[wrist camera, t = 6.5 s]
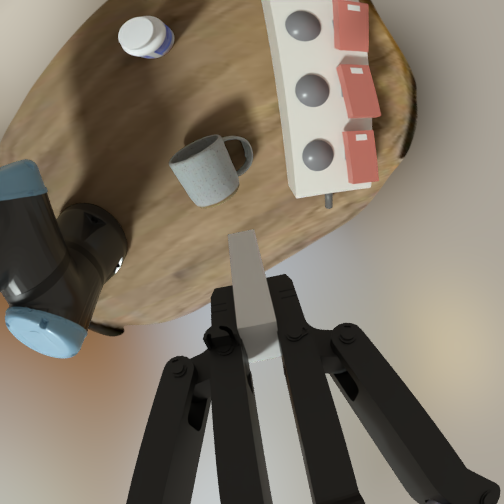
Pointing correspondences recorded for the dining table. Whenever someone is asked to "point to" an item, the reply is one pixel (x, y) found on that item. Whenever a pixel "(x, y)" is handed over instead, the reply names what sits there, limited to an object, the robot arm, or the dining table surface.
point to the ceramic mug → (209, 170)
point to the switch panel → (311, 95)
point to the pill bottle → (146, 37)
